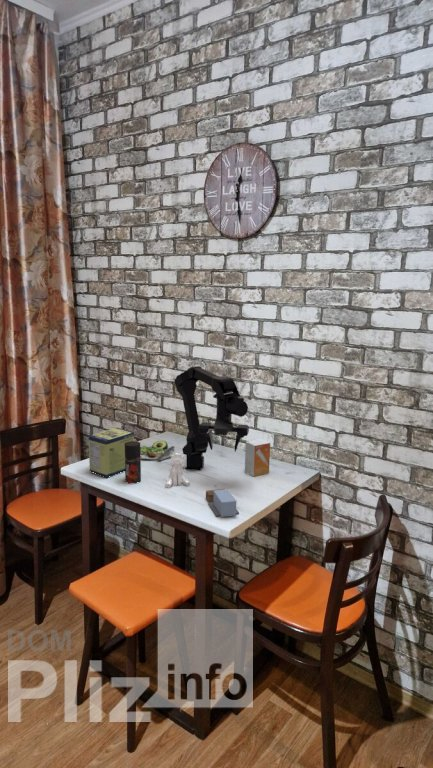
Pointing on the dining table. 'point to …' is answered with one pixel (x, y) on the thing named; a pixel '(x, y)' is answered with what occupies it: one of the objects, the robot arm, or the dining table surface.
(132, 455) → the deodorant
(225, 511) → the slate-blue block
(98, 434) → the protein box
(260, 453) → the small box
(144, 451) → the salad plate
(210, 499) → the walnut plinth
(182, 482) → the white creature statuette
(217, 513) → the charcoal felt mat
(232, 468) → the dining table surface
